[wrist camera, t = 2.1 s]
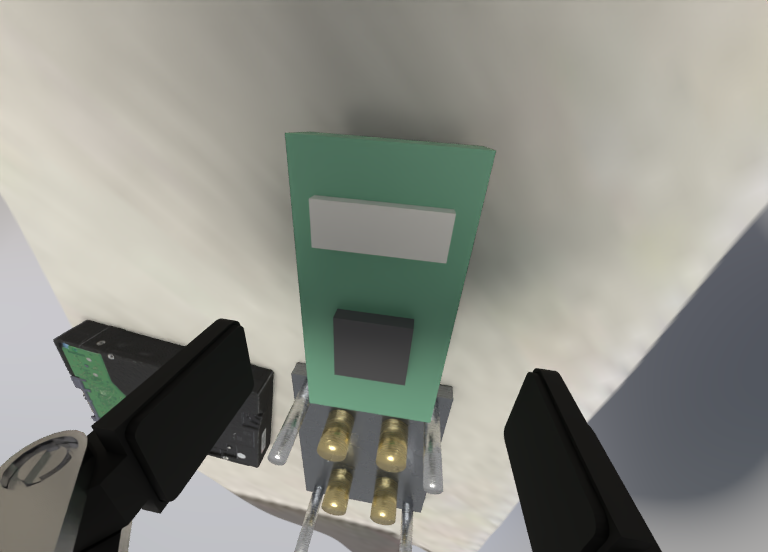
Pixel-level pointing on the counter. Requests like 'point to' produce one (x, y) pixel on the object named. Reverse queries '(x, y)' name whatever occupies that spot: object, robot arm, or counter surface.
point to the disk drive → (138, 362)
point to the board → (381, 263)
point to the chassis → (363, 458)
